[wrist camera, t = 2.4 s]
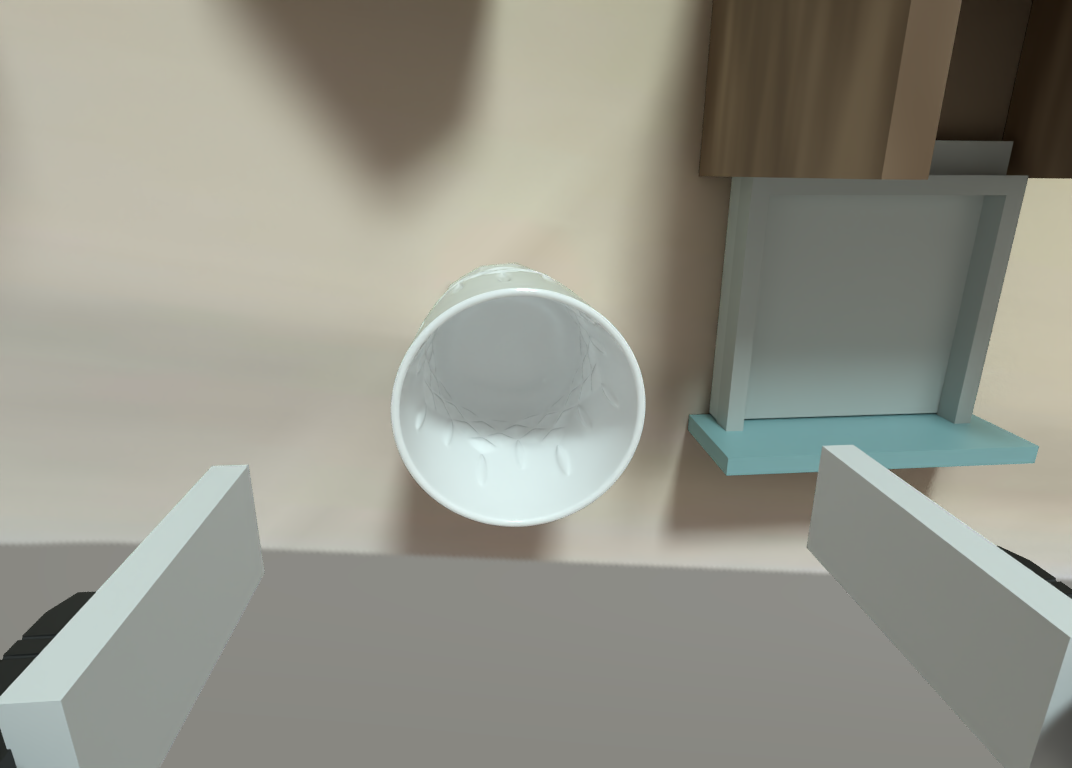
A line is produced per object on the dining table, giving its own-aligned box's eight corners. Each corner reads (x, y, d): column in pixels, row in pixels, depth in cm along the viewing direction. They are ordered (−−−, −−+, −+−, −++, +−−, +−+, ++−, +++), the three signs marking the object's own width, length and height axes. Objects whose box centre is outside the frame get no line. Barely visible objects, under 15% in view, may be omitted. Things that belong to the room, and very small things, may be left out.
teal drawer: (687, 429, 31) (726, 475, 27) (713, 139, 27) (764, 132, 22) (953, 421, 33) (1034, 463, 28) (1016, 142, 28) (1124, 136, 24)
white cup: (624, 336, 30) (695, 413, 20) (502, 448, 31) (517, 570, 21) (506, 210, 27) (524, 230, 18) (380, 336, 28) (335, 417, 19)
